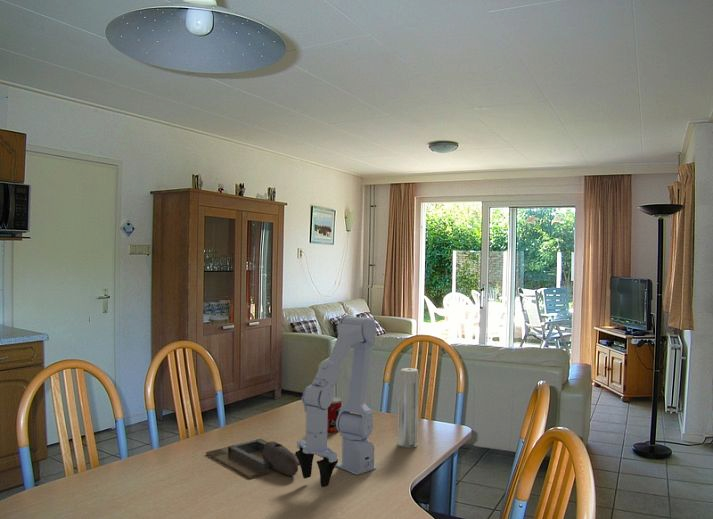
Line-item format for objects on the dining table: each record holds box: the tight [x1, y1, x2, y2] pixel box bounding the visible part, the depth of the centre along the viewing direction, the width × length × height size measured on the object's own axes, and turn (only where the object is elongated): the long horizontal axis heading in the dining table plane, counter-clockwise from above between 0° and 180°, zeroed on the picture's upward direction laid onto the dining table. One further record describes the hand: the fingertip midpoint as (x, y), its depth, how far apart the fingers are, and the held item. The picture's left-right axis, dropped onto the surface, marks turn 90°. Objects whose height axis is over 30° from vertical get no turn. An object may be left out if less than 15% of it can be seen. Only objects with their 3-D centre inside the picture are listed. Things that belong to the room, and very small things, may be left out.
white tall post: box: [397, 367, 420, 449], centre depth 185 cm, size 6×6×25 cm
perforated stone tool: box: [262, 441, 299, 477], centre depth 160 cm, size 15×5×7 cm, turn 39°
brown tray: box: [205, 438, 300, 480], centre depth 170 cm, size 25×20×3 cm
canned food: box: [327, 395, 343, 434], centre depth 200 cm, size 8×8×11 cm
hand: (315, 481), depth 149 cm, fingers open, 7 cm apart
